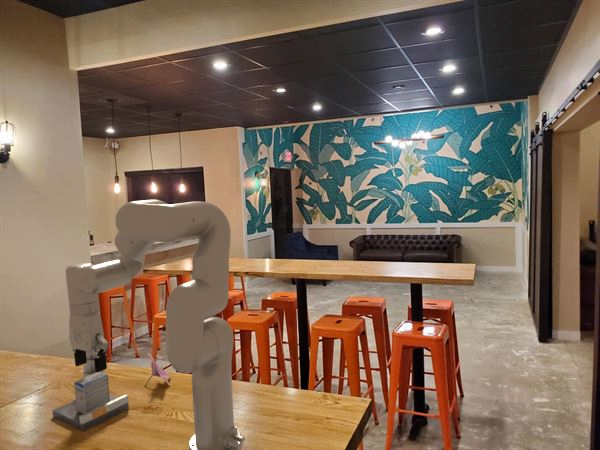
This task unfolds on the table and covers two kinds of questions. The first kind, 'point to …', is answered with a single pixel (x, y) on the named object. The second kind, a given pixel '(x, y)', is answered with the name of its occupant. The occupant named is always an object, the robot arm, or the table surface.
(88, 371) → the plastic bottle
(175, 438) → the table surface
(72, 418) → the white-edged grey panel
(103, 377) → the medicine box
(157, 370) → the lily
